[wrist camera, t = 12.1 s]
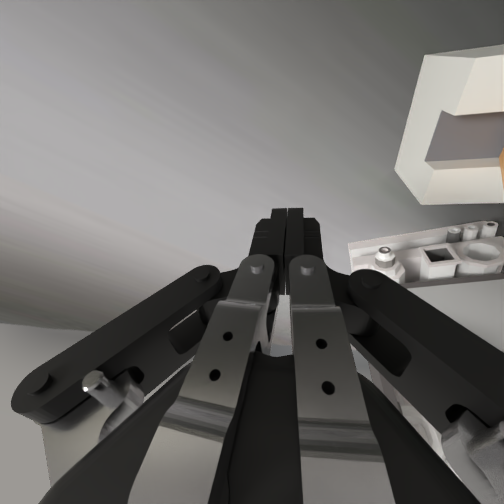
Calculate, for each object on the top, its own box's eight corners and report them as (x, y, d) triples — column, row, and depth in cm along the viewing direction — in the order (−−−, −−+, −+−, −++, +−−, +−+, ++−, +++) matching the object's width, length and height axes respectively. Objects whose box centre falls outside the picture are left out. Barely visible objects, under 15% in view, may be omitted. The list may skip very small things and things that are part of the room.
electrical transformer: (357, 309, 43) (400, 511, 24) (345, 223, 32) (406, 468, 13) (463, 301, 38) (621, 549, 19) (491, 195, 27) (923, 529, 8)
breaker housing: (424, 55, 21) (475, 57, 15) (584, 33, 18) (722, 27, 12) (394, 169, 27) (421, 204, 21) (510, 163, 25) (578, 201, 19)
